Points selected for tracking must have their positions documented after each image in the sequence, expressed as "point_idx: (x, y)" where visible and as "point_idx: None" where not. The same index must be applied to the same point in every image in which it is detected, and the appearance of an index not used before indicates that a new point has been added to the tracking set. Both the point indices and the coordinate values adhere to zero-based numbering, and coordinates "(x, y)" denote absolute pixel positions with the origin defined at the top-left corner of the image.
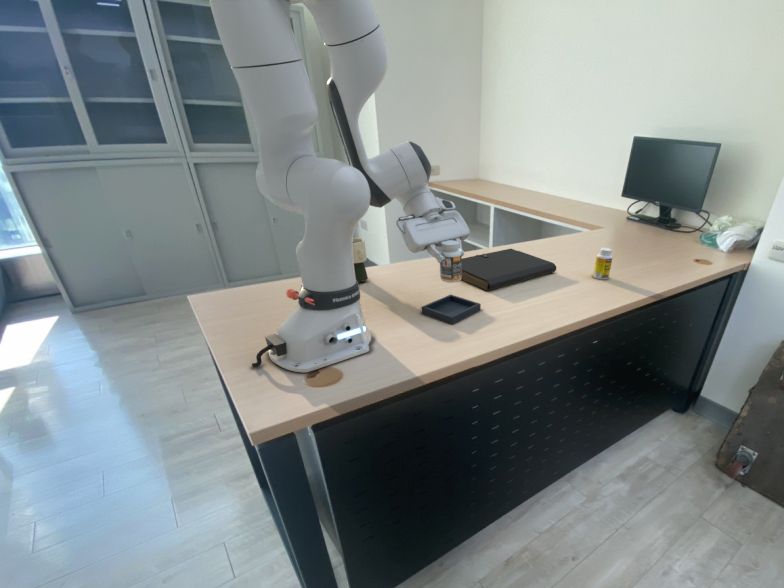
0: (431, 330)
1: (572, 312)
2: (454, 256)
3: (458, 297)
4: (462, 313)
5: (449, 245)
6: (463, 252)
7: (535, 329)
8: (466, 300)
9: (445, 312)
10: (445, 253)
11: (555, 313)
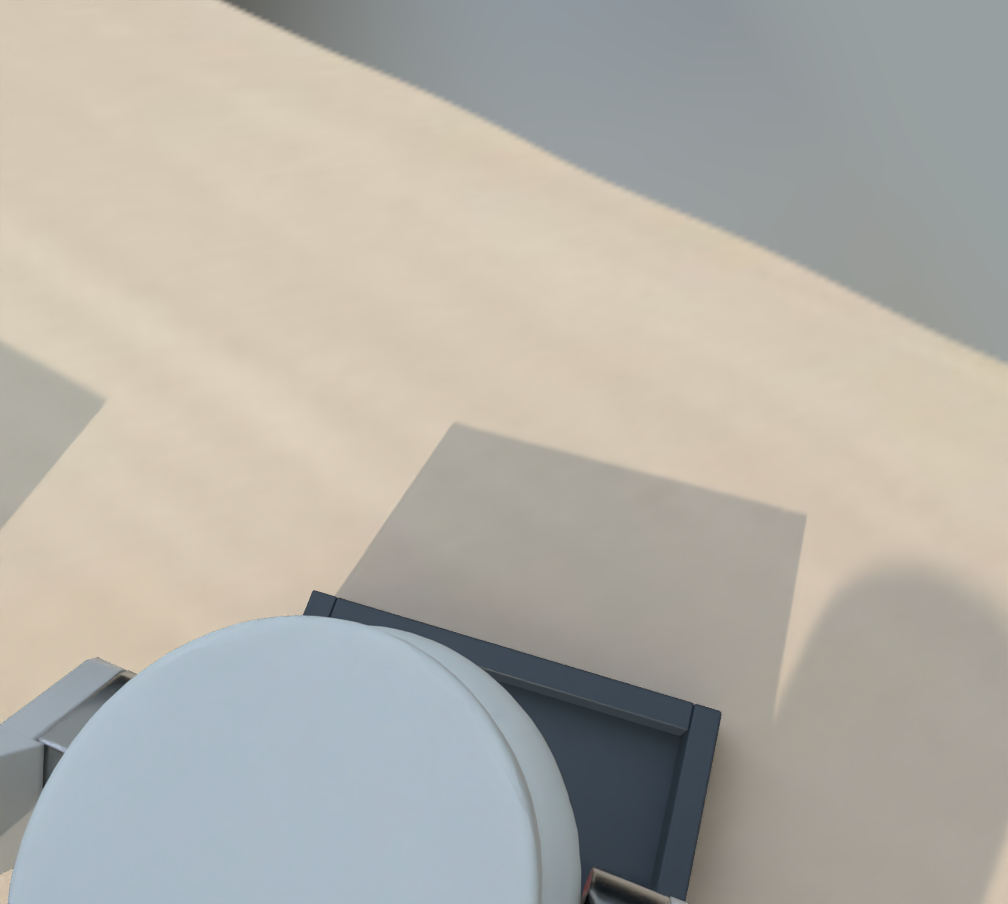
0: (909, 847)
1: (164, 54)
2: (507, 692)
3: None
4: (574, 669)
5: (521, 789)
6: (102, 668)
7: (512, 178)
8: None
9: None
10: (551, 900)
11: (211, 130)
